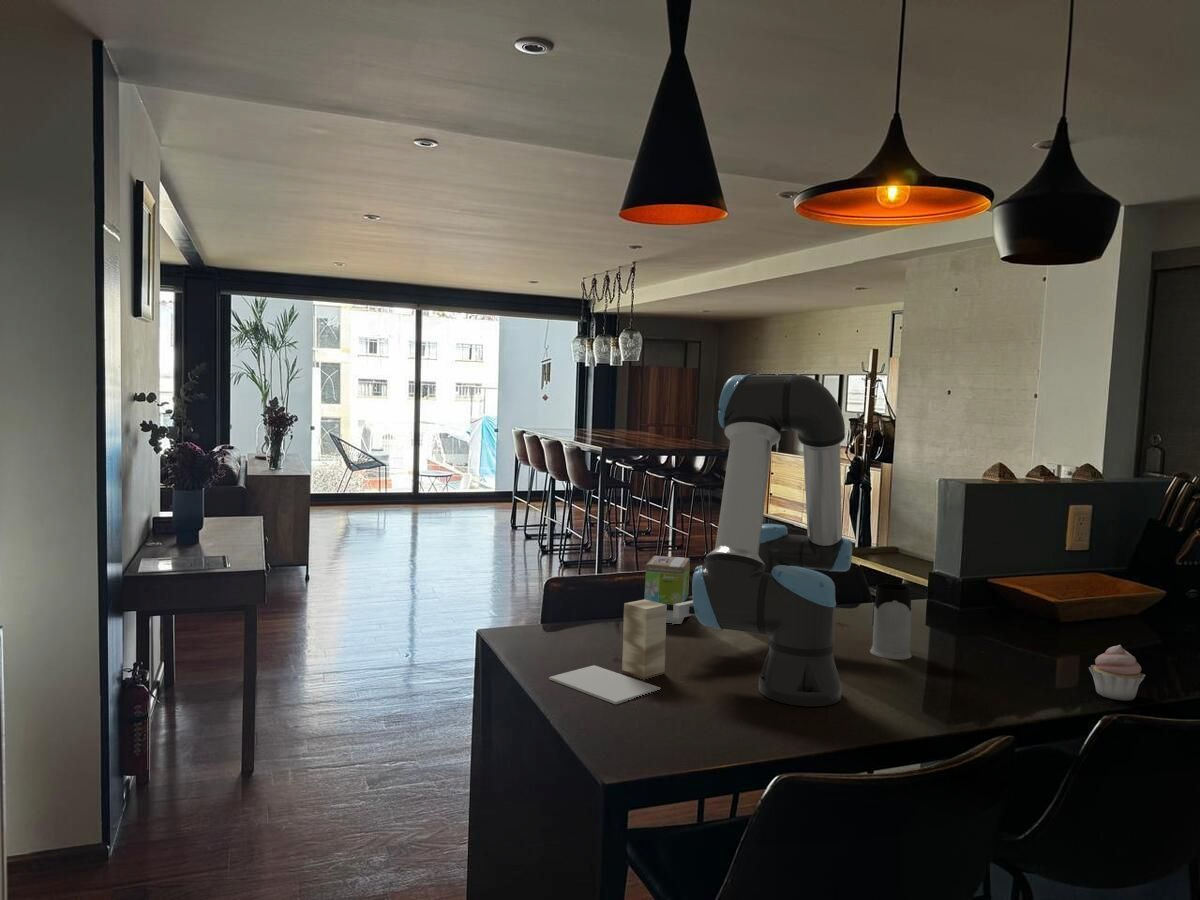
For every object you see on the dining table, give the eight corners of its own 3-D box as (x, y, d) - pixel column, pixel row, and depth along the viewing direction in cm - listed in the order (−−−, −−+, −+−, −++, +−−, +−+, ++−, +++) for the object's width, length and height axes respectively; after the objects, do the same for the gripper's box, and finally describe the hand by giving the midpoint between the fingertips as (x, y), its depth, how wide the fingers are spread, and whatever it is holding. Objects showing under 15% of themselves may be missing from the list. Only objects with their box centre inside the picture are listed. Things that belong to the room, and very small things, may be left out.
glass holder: (871, 657, 183) (874, 589, 182) (866, 640, 197) (869, 577, 196) (914, 661, 181) (917, 592, 180) (906, 644, 195) (909, 580, 194)
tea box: (682, 626, 206) (684, 566, 205) (642, 622, 208) (644, 563, 207) (688, 612, 221) (690, 556, 220) (650, 609, 223) (652, 554, 222)
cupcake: (1132, 707, 155) (1135, 654, 155) (1079, 693, 163) (1081, 642, 162) (1153, 698, 161) (1155, 647, 160) (1100, 684, 168) (1103, 635, 168)
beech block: (664, 674, 167) (666, 604, 166) (644, 680, 163) (646, 609, 162) (642, 667, 171) (644, 599, 171) (621, 672, 167) (623, 603, 166)
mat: (660, 690, 157) (660, 687, 157) (615, 704, 149) (615, 701, 149) (593, 667, 170) (594, 665, 170) (549, 679, 161) (549, 676, 161)
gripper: (767, 618, 186) (699, 635, 169) (720, 607, 195) (652, 623, 178) (768, 584, 185) (701, 599, 169) (721, 575, 195) (653, 588, 178)
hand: (676, 611), depth 174 cm, fingers closed
